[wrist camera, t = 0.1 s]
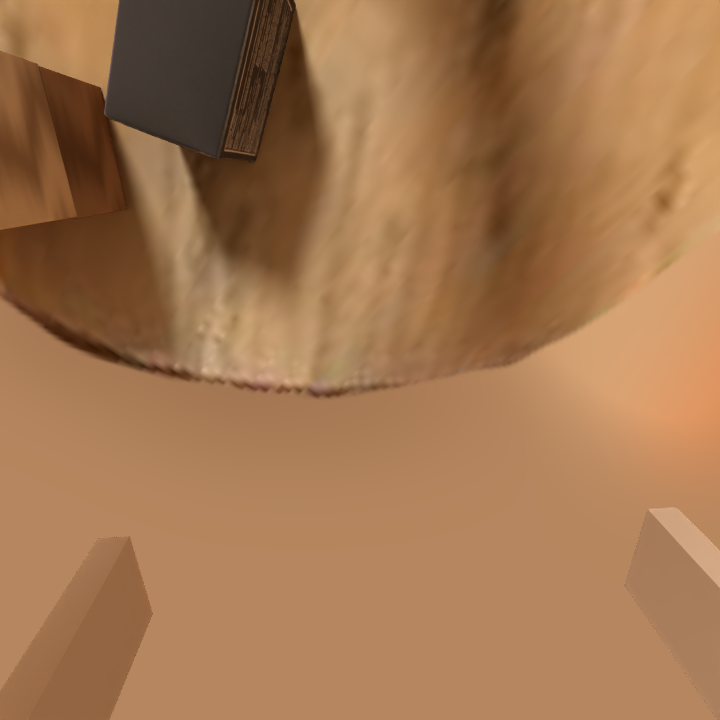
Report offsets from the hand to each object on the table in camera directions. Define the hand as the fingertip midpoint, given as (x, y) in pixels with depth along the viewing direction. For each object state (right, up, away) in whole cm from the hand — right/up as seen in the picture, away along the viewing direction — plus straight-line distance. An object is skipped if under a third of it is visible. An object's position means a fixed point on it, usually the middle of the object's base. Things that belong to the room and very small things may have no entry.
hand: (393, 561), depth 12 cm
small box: (-10, +25, +19) cm, 33 cm away
